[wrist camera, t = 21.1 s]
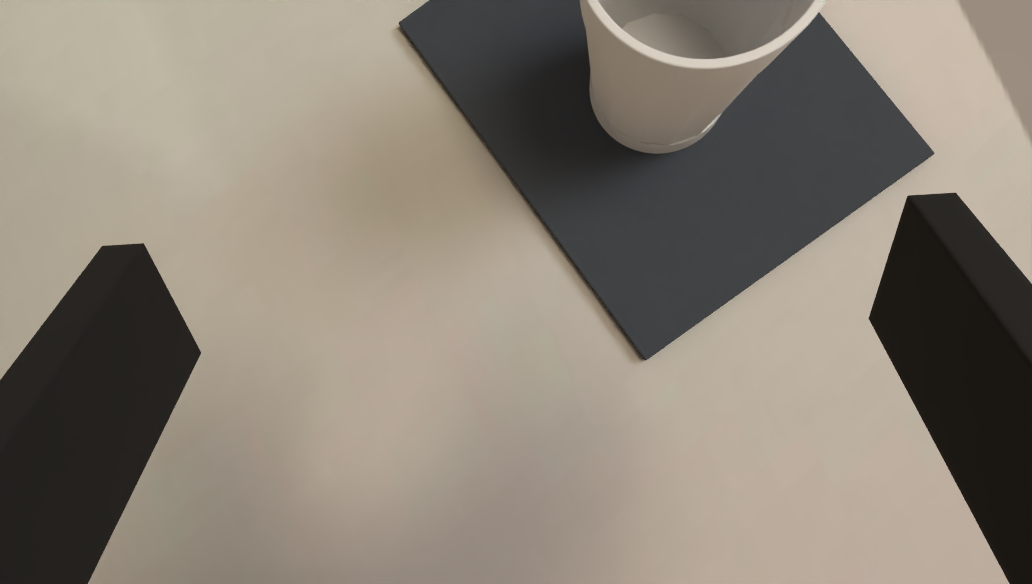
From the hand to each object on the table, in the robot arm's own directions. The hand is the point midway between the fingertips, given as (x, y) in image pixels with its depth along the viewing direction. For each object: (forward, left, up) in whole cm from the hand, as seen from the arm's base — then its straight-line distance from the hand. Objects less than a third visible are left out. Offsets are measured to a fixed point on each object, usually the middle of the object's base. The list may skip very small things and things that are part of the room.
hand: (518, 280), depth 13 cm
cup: (-6, +11, -20) cm, 24 cm away
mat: (-6, +11, -21) cm, 24 cm away
